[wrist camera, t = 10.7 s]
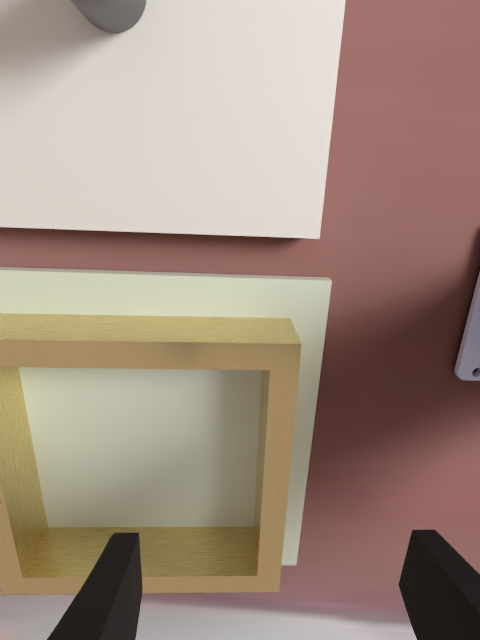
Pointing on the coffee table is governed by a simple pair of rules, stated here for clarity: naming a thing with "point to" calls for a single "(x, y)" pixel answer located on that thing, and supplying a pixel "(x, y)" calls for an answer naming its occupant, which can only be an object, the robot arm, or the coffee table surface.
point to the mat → (163, 404)
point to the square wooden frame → (155, 542)
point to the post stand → (167, 114)
